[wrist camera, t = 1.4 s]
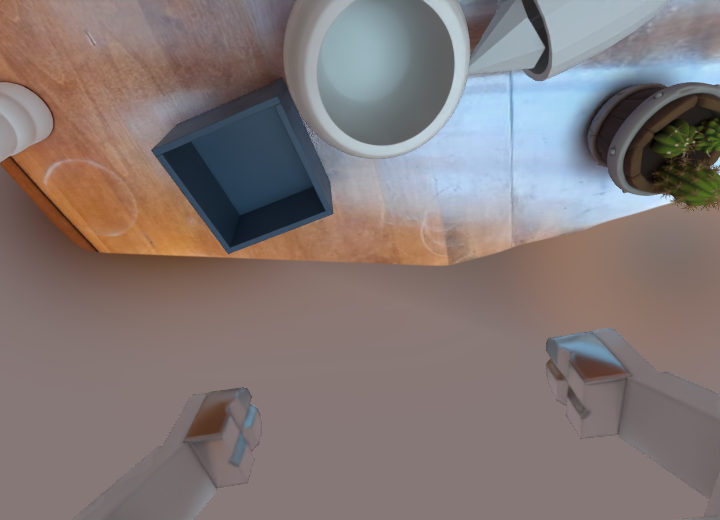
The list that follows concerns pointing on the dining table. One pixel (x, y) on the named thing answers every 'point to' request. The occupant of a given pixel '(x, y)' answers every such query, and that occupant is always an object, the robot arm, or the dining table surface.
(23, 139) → the water bottle
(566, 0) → the jet engine
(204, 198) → the bin
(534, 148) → the dining table surface
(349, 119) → the planter
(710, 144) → the flowerpot
